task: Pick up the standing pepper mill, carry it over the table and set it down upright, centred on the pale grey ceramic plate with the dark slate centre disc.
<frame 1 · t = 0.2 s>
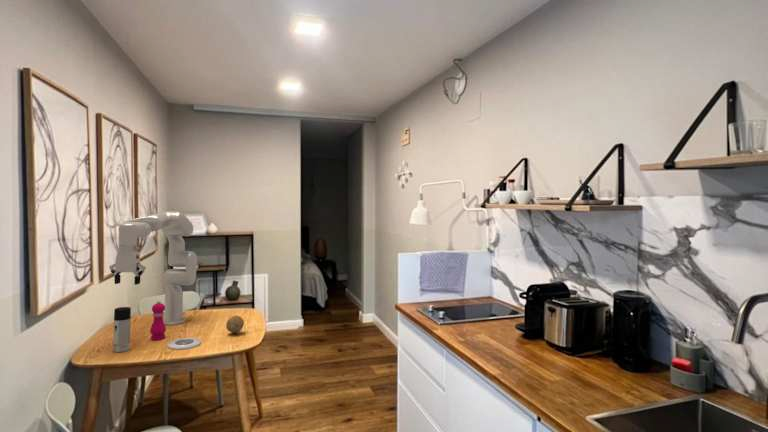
hand: (127, 283, 196), 31 cm above the table, tool pointing down, fingers open, 9 cm apart
natural sponge: (234, 334, 221), on the table
spray can: (121, 350, 193), on the table
mount plate: (184, 344, 202), on the table
pepper mill: (157, 338, 210), on the table
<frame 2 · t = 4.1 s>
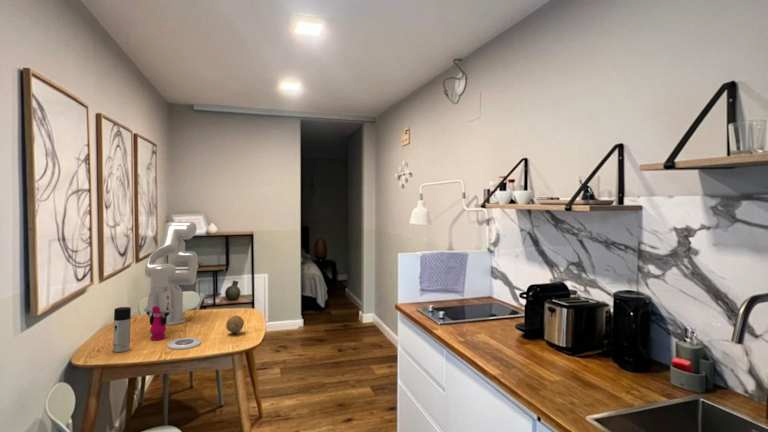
hand: (158, 324, 210), 7 cm above the table, tool pointing down, fingers closed on pepper mill, 5 cm apart
pepper mill: (157, 338, 210), on the table, touching gripper
everything else where it was.
when the fingers open (10 cm above the table, at t = 12.6 s): pepper mill stays where it is, resting on mount plate.
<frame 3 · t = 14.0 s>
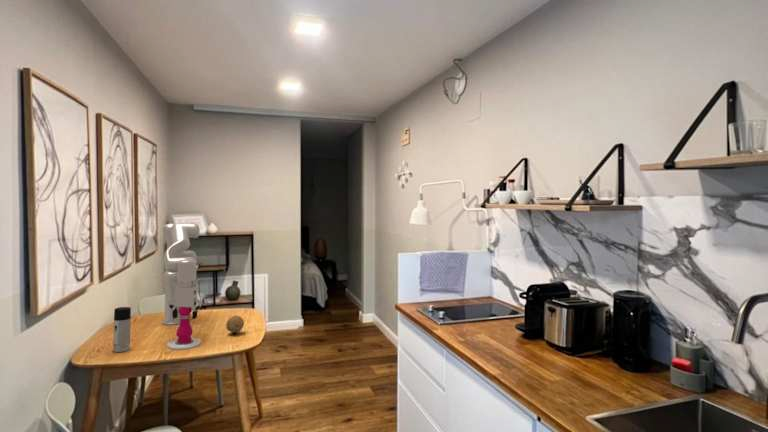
hand: (184, 318, 202), 13 cm above the table, tool pointing down, fingers open, 9 cm apart
pepper mill: (184, 342, 202), point 1 cm above the table, touching mount plate
everything else where it was.
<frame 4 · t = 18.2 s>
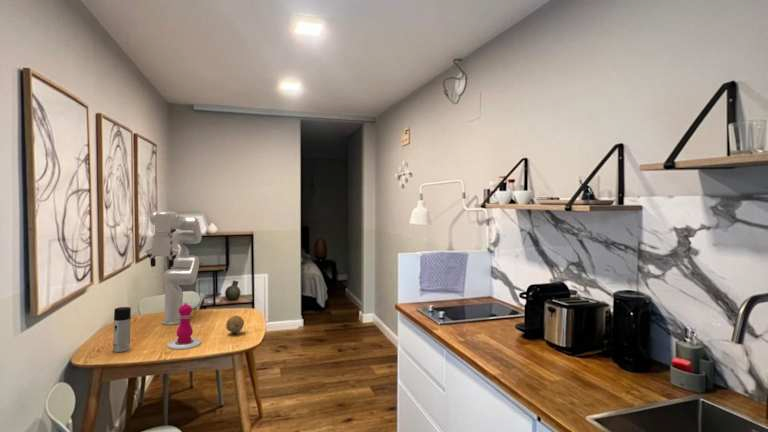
hand: (162, 266, 218), 36 cm above the table, tool pointing down, fingers open, 9 cm apart
nothing on the table moved.
at the end: pepper mill 0.2 cm from the mount plate (horizontally); pepper mill tilted 1°; the gripper is holding nothing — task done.
